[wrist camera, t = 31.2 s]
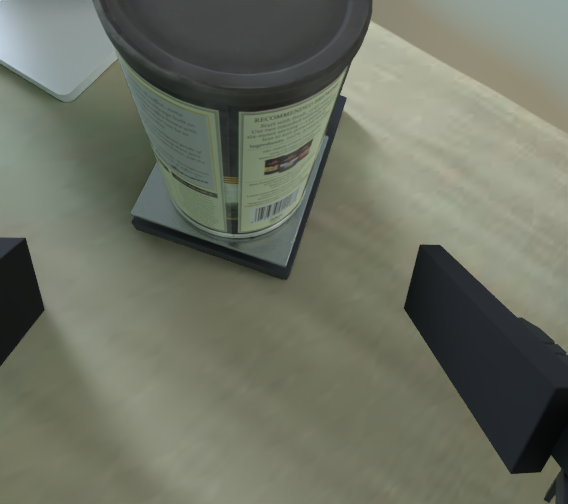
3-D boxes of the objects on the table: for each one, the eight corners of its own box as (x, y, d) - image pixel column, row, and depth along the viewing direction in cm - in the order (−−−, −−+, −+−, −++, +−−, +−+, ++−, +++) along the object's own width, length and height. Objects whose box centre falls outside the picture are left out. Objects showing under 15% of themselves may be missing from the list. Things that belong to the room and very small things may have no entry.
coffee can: (219, 89, 29) (206, -151, 16) (332, 160, 28) (417, -30, 15) (130, 186, 26) (19, -16, 13) (255, 268, 25) (279, 147, 12)
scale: (342, 108, 34) (352, 83, 31) (286, 280, 29) (292, 270, 26) (217, 64, 34) (215, 35, 31) (135, 229, 28) (124, 213, 26)
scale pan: (327, 139, 29) (328, 136, 29) (285, 267, 26) (286, 266, 25) (193, 92, 29) (193, 89, 29) (131, 215, 26) (130, 213, 25)
